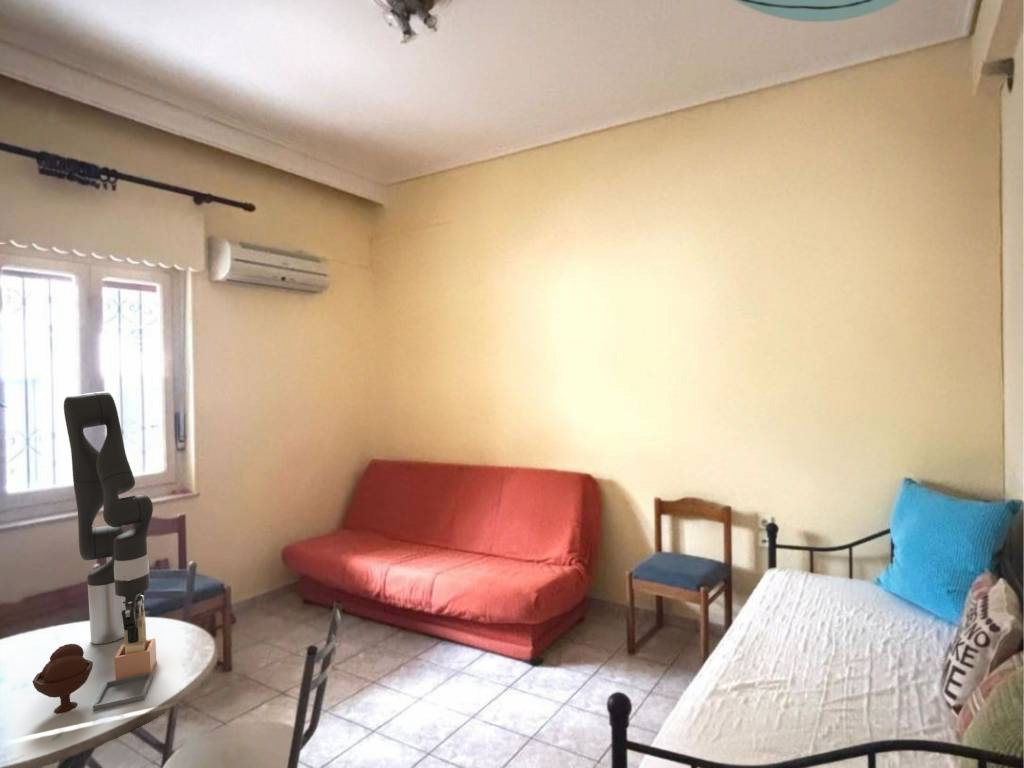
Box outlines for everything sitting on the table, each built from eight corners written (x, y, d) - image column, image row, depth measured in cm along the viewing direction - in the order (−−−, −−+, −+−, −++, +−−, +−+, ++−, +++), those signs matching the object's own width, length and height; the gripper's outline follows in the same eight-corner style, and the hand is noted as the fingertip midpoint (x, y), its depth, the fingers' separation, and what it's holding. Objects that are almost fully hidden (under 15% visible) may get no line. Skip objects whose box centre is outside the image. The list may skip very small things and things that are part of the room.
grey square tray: (106, 689, 141) (105, 681, 140) (153, 679, 144) (152, 672, 144) (93, 714, 130) (93, 706, 130) (144, 703, 134) (143, 695, 134)
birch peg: (129, 665, 148) (126, 613, 148) (147, 662, 150) (144, 610, 149) (126, 673, 145) (123, 620, 144) (144, 669, 146) (141, 616, 146)
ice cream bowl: (32, 712, 132) (28, 649, 131) (91, 691, 140) (88, 632, 139) (37, 732, 124) (33, 665, 124) (99, 709, 132) (95, 646, 132)
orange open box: (123, 670, 149) (121, 644, 149) (156, 663, 152) (155, 638, 152) (115, 685, 142) (114, 658, 142) (151, 678, 145) (149, 651, 145)
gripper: (121, 566, 151) (124, 629, 152) (107, 586, 138) (111, 654, 139) (154, 562, 154) (157, 623, 155) (143, 580, 141) (146, 647, 142)
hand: (135, 638), depth 147 cm, fingers closed on birch peg, 4 cm apart
